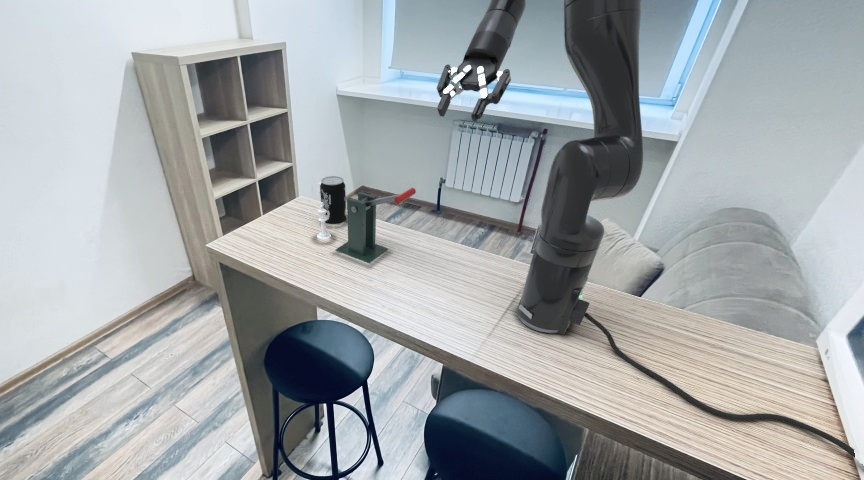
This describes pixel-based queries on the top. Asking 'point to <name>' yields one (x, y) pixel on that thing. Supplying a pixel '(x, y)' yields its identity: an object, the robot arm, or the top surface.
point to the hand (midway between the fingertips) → (457, 116)
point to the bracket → (361, 230)
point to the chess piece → (323, 223)
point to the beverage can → (333, 199)
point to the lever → (389, 198)
